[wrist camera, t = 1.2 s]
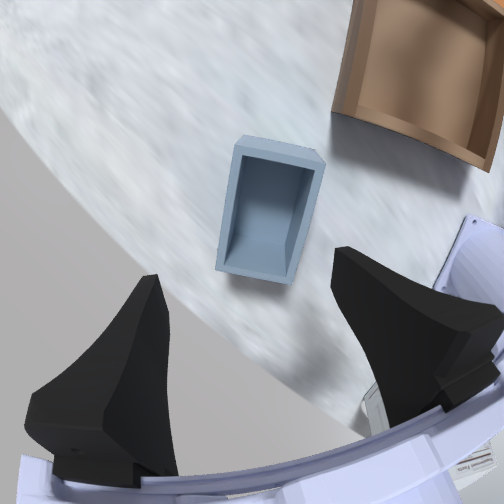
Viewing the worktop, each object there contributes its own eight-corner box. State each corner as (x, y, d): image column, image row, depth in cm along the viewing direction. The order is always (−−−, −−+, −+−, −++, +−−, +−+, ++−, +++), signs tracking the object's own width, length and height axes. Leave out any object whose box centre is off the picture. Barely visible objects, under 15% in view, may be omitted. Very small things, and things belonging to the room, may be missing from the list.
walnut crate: (488, 20, 12) (512, 15, 9) (464, 161, 18) (489, 173, 15) (360, -45, 11) (373, -64, 8) (330, 111, 18) (341, 113, 15)
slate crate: (314, 149, 20) (326, 164, 15) (289, 248, 23) (291, 284, 19) (244, 134, 19) (234, 144, 15) (226, 236, 23) (214, 270, 19)
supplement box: (415, 398, 33) (441, 501, 18) (361, 397, 33) (378, 516, 18) (455, 353, 29) (500, 466, 14) (399, 347, 28) (441, 487, 13)
